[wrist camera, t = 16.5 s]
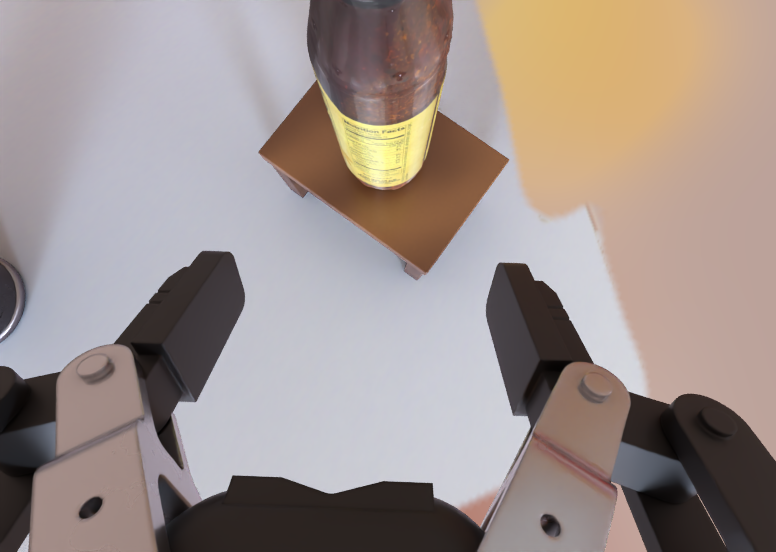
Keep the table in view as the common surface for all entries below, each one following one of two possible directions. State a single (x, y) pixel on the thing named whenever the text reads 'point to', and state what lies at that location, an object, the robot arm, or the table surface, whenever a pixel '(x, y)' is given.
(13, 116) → the table surface
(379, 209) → the small brown wooden table
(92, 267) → the table surface
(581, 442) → the robot arm
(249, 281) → the table surface
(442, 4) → the sauce bottle
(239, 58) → the table surface
